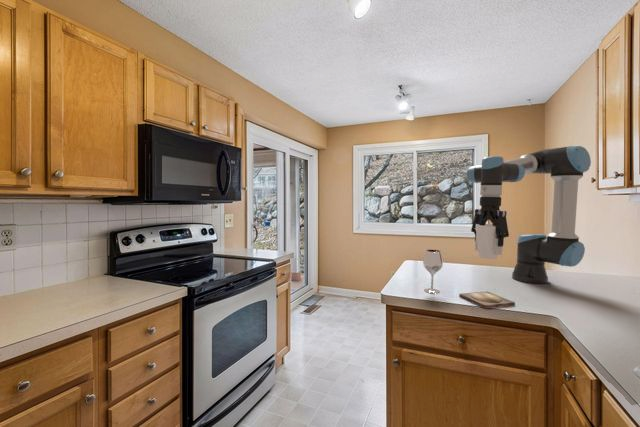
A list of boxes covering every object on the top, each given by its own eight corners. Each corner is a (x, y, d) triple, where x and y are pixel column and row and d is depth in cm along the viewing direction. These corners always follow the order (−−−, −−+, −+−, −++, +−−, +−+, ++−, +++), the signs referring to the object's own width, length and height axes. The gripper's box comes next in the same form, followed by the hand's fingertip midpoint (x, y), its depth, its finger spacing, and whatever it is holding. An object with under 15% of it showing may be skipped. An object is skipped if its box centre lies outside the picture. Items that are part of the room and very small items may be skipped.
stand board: (486, 294, 135) (487, 290, 135) (514, 305, 122) (514, 301, 122) (459, 296, 132) (459, 292, 132) (484, 308, 118) (485, 304, 118)
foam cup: (504, 260, 120) (506, 226, 120) (478, 259, 122) (480, 225, 121) (496, 255, 130) (497, 224, 129) (471, 254, 132) (473, 223, 131)
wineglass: (421, 292, 136) (423, 251, 135) (422, 287, 144) (423, 248, 143) (442, 295, 134) (443, 253, 132) (441, 289, 141) (443, 249, 140)
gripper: (463, 195, 134) (460, 247, 136) (505, 196, 113) (502, 258, 114) (477, 195, 136) (475, 247, 137) (522, 196, 115) (519, 257, 116)
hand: (487, 252), depth 126 cm, fingers closed on foam cup, 9 cm apart
